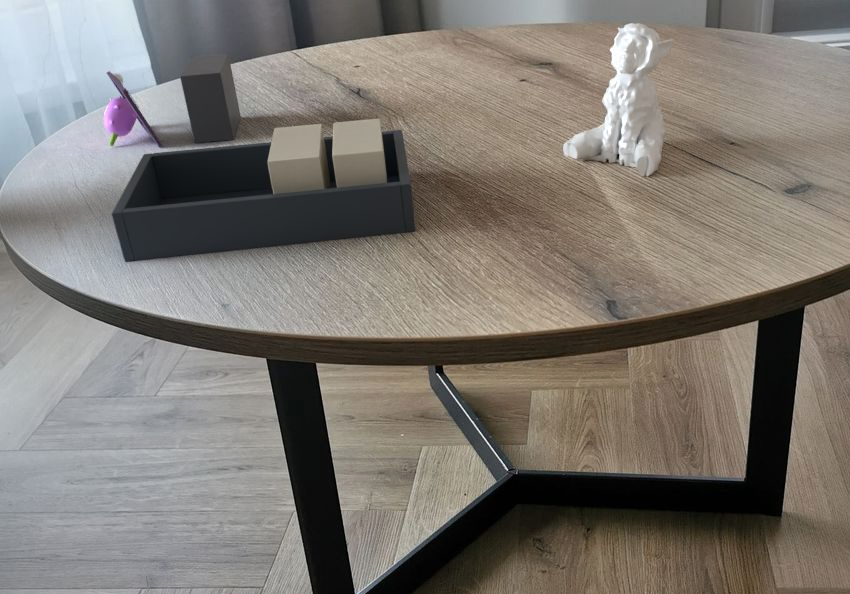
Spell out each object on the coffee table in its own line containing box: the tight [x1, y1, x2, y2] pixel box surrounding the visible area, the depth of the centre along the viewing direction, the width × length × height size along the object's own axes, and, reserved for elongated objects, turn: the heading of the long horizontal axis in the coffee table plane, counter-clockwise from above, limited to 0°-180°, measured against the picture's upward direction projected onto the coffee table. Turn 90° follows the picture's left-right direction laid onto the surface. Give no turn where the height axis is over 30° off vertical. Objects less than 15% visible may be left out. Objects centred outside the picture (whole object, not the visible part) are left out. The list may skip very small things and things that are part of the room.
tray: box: [111, 129, 416, 263], centre depth 80 cm, size 23×14×5 cm, turn 98°
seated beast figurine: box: [562, 22, 675, 177], centre depth 87 cm, size 10×9×12 cm
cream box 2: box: [332, 118, 388, 188], centre depth 80 cm, size 4×8×6 cm, turn 8°
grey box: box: [179, 53, 242, 144], centre depth 102 cm, size 4×8×7 cm, turn 8°
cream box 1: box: [268, 123, 331, 194], centre depth 80 cm, size 4×8×6 cm, turn 8°
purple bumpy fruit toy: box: [103, 70, 163, 148], centre depth 100 cm, size 7×5×9 cm
